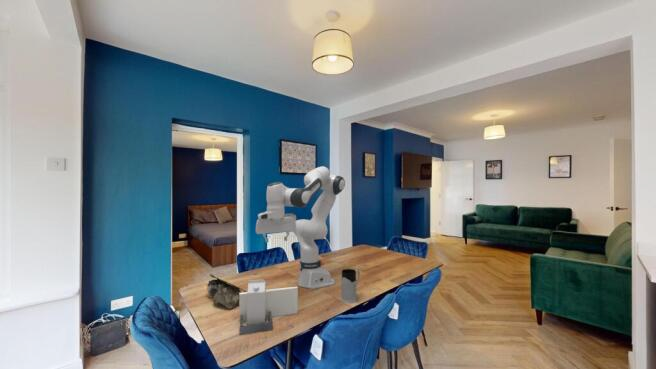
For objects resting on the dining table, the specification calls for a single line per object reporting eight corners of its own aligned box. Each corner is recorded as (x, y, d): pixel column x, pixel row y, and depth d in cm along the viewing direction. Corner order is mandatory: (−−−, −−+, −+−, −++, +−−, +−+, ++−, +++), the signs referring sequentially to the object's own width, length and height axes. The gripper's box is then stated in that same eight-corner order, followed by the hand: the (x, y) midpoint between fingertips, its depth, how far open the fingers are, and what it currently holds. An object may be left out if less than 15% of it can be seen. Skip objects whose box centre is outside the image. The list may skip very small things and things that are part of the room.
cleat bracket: (270, 317, 120) (270, 311, 121) (272, 329, 110) (272, 322, 110) (240, 322, 117) (240, 315, 117) (239, 334, 107) (239, 327, 107)
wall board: (296, 311, 127) (296, 286, 127) (297, 313, 125) (297, 287, 125) (239, 319, 119) (239, 292, 119) (239, 321, 117) (239, 294, 117)
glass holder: (337, 300, 140) (337, 271, 140) (352, 291, 151) (352, 265, 151) (350, 304, 134) (350, 275, 134) (365, 295, 145) (365, 268, 145)
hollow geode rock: (212, 301, 148) (192, 287, 141) (228, 281, 155) (209, 266, 148) (234, 317, 128) (212, 301, 121) (252, 294, 135) (232, 277, 128)
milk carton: (249, 320, 118) (249, 277, 118) (265, 319, 119) (266, 276, 119) (247, 328, 111) (247, 283, 111) (264, 327, 112) (264, 282, 112)
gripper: (295, 212, 141) (295, 238, 141) (255, 214, 135) (255, 241, 135) (297, 213, 135) (297, 240, 135) (255, 216, 129) (256, 244, 129)
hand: (276, 241), depth 135 cm, fingers open, 8 cm apart
